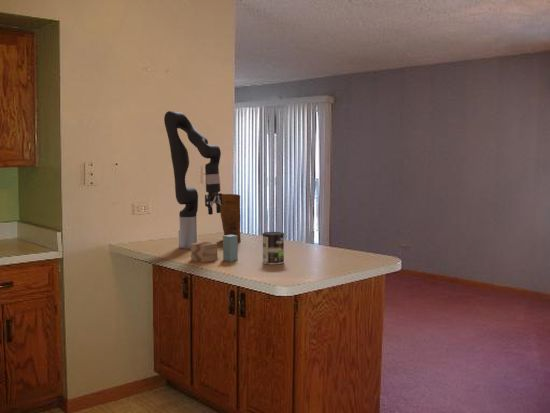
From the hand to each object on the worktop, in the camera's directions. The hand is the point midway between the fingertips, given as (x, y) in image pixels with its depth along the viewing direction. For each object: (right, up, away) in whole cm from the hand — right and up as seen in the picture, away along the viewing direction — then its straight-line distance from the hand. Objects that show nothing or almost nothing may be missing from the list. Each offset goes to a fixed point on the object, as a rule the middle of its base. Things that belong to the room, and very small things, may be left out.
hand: (214, 213), depth 299 cm
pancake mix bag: (+5, -17, +37) cm, 41 cm away
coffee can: (+31, -23, -30) cm, 49 cm away
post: (+10, -22, -23) cm, 34 cm away
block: (-3, -22, -22) cm, 31 cm away
